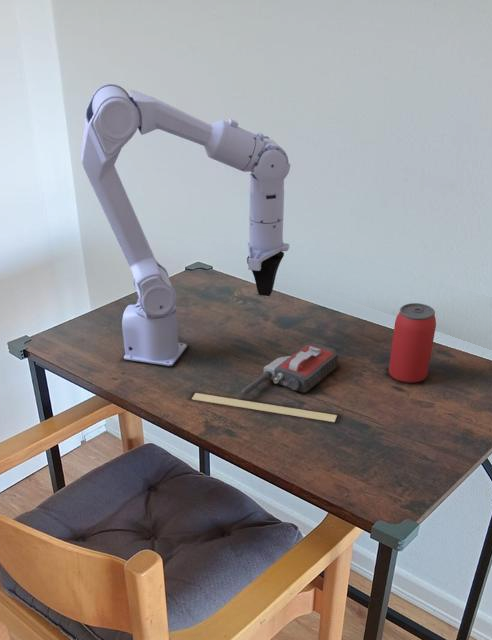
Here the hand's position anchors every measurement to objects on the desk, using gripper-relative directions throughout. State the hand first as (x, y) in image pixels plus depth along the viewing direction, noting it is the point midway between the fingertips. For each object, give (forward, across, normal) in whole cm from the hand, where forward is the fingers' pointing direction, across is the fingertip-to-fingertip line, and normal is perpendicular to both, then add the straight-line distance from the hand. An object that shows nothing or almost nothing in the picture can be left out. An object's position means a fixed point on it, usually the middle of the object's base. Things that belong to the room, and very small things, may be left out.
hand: (264, 294), depth 134 cm
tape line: (+9, -22, -6) cm, 25 cm away
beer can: (+10, -5, -27) cm, 29 cm away
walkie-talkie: (+10, -12, -8) cm, 18 cm away
